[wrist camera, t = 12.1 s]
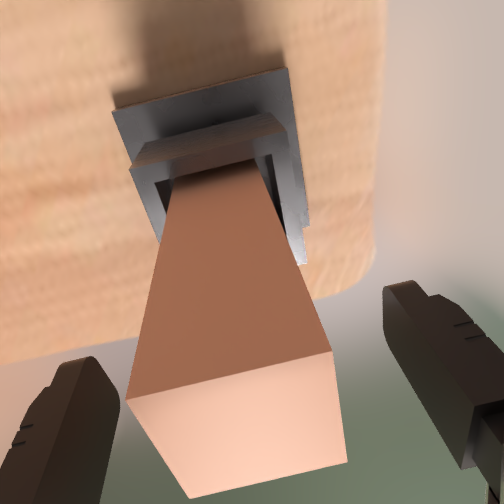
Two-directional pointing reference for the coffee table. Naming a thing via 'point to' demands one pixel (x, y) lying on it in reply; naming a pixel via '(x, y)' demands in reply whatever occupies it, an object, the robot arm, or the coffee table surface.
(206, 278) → the rail post
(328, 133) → the coffee table surface
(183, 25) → the coffee table surface
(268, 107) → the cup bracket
